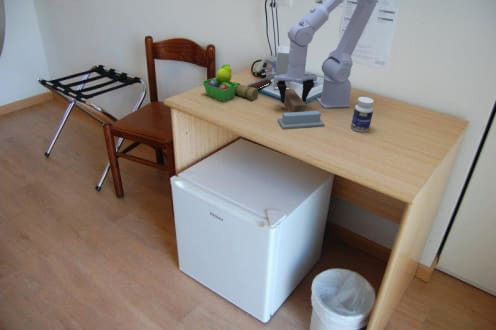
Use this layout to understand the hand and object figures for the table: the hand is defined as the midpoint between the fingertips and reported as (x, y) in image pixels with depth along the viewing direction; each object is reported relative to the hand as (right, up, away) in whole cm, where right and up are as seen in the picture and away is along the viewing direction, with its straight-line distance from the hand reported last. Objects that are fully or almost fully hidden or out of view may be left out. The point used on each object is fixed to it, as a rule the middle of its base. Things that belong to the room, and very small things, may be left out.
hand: (293, 101), depth 140 cm
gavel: (-12, +6, +15) cm, 20 cm away
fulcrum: (+2, -9, -9) cm, 12 cm away
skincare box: (-2, +8, +18) cm, 20 cm away
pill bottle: (+20, -11, -10) cm, 25 cm away
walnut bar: (0, -2, +2) cm, 3 cm away
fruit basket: (-25, +3, +9) cm, 27 cm away
